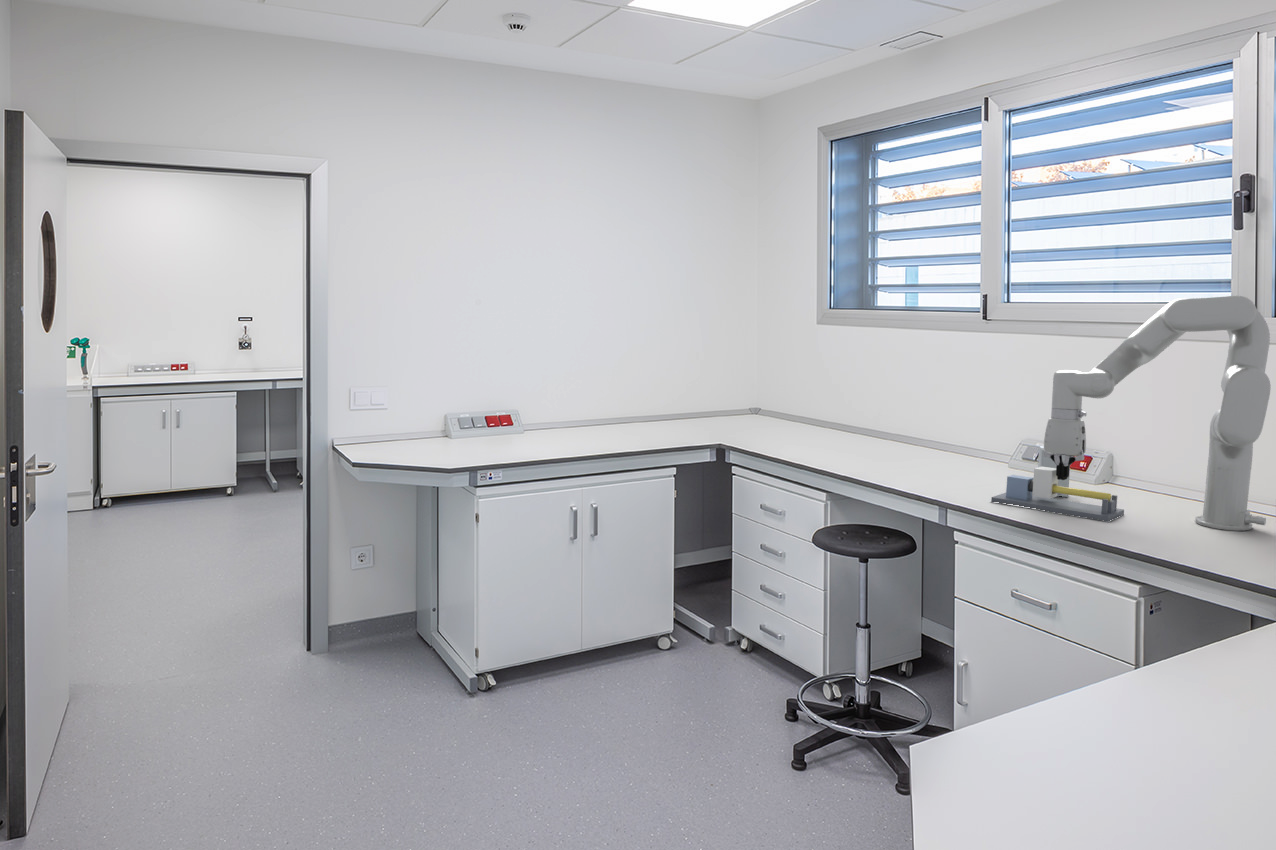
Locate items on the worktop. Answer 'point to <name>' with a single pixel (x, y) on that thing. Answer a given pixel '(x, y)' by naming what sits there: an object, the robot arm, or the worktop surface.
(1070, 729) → the worktop surface
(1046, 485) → the sleeve
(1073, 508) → the yellow rod jig
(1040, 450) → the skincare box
